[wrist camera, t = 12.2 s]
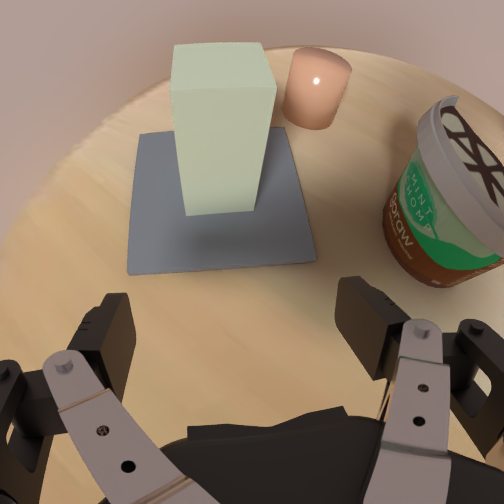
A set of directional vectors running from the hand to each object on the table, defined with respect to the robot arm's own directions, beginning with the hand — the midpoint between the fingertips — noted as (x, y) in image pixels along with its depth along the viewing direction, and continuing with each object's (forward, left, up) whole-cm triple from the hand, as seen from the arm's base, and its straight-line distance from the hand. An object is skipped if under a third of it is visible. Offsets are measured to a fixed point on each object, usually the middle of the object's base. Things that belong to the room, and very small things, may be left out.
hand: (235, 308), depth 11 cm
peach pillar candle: (-9, -19, -7) cm, 23 cm away
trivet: (0, -10, -7) cm, 13 cm away
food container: (-14, -5, -7) cm, 17 cm away
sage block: (0, -10, -6) cm, 12 cm away
